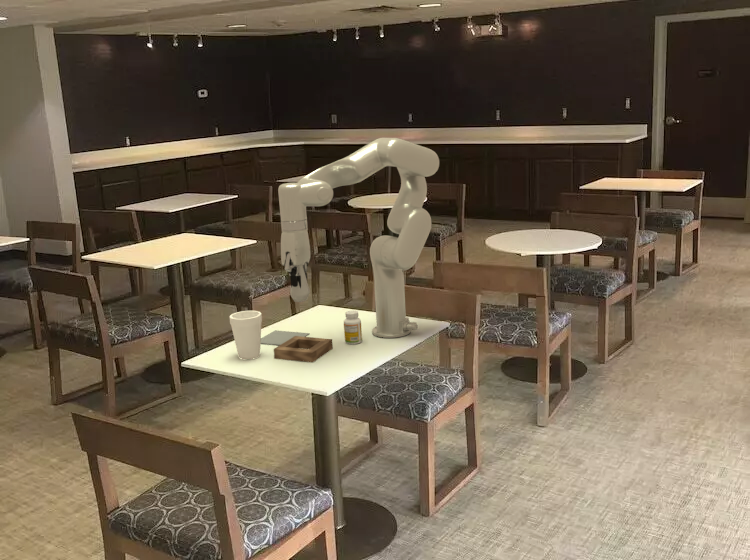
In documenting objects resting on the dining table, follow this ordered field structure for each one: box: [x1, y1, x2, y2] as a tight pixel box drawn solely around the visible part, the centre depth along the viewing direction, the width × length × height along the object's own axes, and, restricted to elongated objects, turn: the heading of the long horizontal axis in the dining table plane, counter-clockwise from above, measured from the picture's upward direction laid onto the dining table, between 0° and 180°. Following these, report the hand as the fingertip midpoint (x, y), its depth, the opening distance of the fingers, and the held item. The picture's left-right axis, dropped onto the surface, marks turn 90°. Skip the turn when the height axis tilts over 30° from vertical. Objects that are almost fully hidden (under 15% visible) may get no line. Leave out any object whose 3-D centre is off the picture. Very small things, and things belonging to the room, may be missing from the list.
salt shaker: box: [289, 262, 311, 303], centre depth 226 cm, size 6×6×13 cm
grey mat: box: [260, 329, 310, 347], centre depth 247 cm, size 13×13×1 cm
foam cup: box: [229, 310, 263, 360], centre depth 230 cm, size 10×9×13 cm
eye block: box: [273, 336, 334, 363], centre depth 231 cm, size 13×13×3 cm
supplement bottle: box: [343, 310, 363, 345], centre depth 239 cm, size 5×5×10 cm
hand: (299, 286), depth 227 cm, fingers closed on salt shaker, 3 cm apart
